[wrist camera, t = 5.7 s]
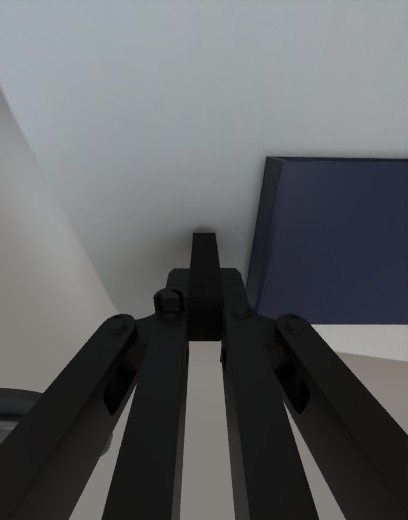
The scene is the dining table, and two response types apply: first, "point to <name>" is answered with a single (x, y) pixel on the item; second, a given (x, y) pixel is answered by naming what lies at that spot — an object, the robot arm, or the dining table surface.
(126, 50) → the dining table surface
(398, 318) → the book
